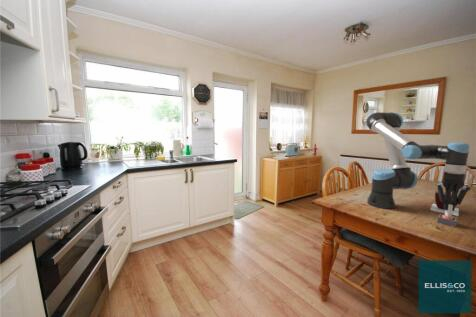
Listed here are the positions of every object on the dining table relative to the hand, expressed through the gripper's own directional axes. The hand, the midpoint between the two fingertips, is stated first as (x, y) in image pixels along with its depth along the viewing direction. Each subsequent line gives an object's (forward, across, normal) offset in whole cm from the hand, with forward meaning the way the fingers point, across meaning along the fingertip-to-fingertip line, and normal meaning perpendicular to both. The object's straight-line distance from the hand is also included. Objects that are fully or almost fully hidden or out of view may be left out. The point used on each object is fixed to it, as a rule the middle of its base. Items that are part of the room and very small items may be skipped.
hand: (447, 215), depth 108 cm
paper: (+4, +9, +24) cm, 26 cm away
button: (+3, 0, 0) cm, 3 cm away
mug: (+4, +9, +24) cm, 26 cm away
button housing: (+4, 0, 0) cm, 4 cm away
